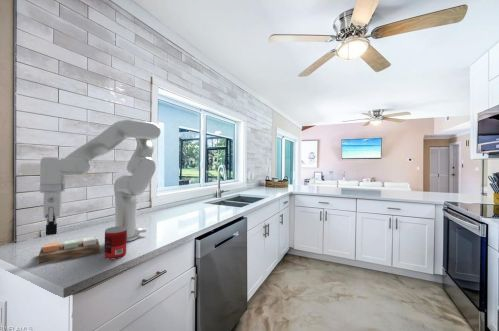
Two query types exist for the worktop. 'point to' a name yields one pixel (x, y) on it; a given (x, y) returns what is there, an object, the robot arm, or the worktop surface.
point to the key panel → (68, 252)
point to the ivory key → (89, 241)
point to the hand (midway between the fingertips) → (51, 234)
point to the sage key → (71, 244)
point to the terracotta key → (51, 247)
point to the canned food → (115, 242)
